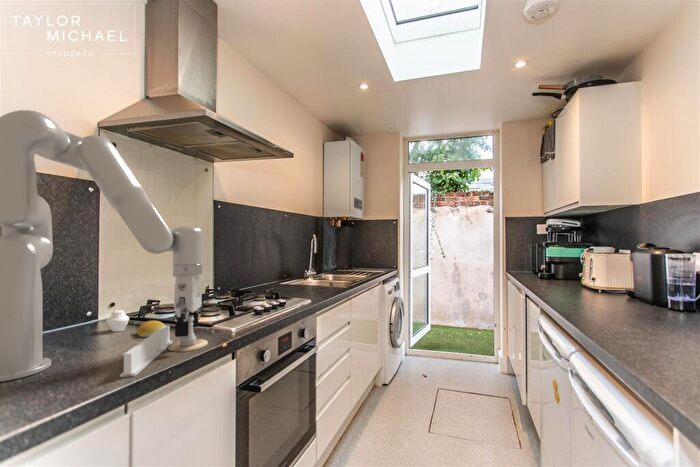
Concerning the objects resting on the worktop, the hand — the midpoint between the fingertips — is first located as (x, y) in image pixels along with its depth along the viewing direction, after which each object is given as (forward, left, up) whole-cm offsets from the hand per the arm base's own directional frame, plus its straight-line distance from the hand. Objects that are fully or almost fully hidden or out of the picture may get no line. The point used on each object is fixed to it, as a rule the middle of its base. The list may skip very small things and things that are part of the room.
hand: (187, 331), depth 95 cm
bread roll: (-15, +16, -5) cm, 23 cm away
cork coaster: (0, 0, -4) cm, 4 cm away
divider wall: (-7, -8, -4) cm, 11 cm away
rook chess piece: (0, 0, -4) cm, 4 cm away
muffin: (-28, +22, -4) cm, 36 cm away
